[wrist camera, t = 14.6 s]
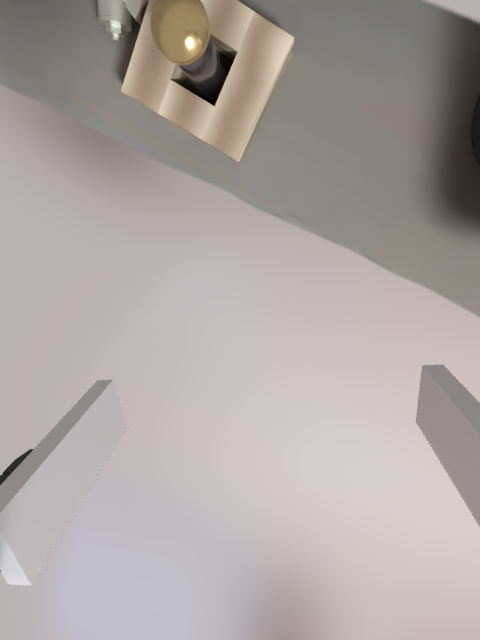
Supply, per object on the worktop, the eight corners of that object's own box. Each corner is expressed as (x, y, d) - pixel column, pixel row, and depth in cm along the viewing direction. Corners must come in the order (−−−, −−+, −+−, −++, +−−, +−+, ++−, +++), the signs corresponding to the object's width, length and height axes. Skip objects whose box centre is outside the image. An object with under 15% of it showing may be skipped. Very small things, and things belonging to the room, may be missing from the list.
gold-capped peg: (236, 69, 35) (217, 7, 23) (219, 110, 37) (192, 72, 25) (201, 46, 35) (163, -28, 23) (185, 89, 37) (142, 41, 25)
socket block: (292, 53, 34) (294, 37, 31) (239, 162, 39) (235, 160, 35) (176, -22, 33) (163, -48, 29) (135, 100, 38) (120, 91, 34)
